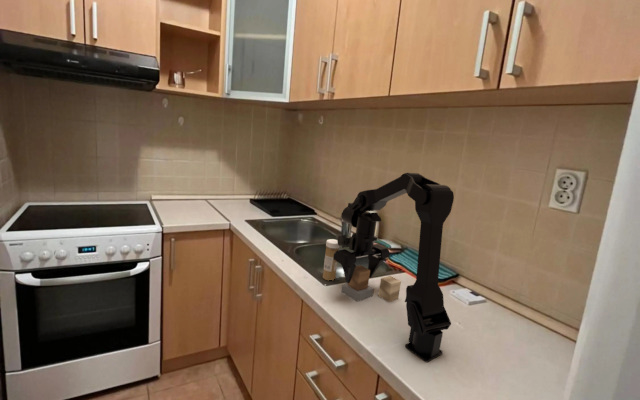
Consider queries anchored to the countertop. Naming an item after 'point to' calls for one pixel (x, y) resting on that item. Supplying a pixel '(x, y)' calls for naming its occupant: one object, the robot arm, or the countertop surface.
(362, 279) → the walnut block
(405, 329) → the countertop surface
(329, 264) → the sprinkles bottle
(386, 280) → the maple block
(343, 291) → the tile block
